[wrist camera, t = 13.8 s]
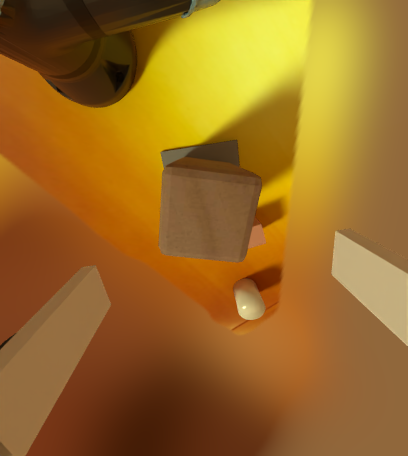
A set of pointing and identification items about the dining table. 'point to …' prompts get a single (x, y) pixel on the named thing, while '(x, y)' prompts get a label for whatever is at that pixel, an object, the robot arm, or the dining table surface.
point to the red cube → (256, 235)
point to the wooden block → (207, 209)
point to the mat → (205, 153)
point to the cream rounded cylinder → (248, 299)
